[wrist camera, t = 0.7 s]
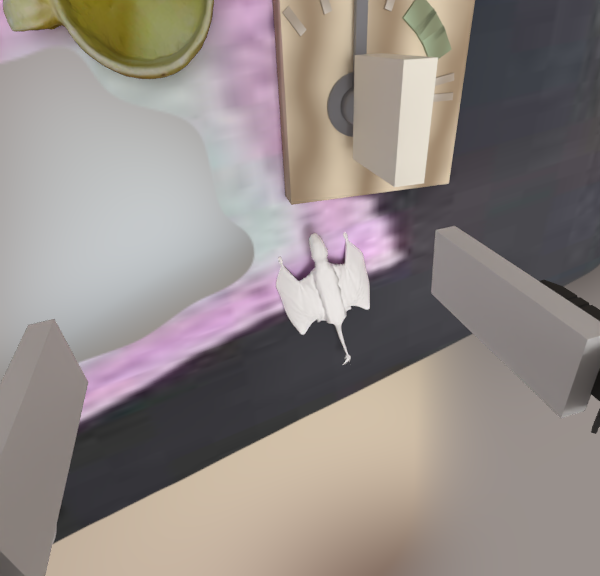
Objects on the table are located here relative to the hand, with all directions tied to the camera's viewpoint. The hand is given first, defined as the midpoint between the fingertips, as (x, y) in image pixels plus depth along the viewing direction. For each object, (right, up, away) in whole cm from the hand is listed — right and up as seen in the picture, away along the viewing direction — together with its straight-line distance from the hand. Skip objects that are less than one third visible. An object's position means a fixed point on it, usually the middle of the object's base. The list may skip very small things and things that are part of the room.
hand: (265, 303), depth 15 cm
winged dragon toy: (+4, 0, +33) cm, 34 cm away
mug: (-12, +21, +16) cm, 29 cm away
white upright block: (+6, +18, +20) cm, 27 cm away
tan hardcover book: (+7, +20, +22) cm, 30 cm away
